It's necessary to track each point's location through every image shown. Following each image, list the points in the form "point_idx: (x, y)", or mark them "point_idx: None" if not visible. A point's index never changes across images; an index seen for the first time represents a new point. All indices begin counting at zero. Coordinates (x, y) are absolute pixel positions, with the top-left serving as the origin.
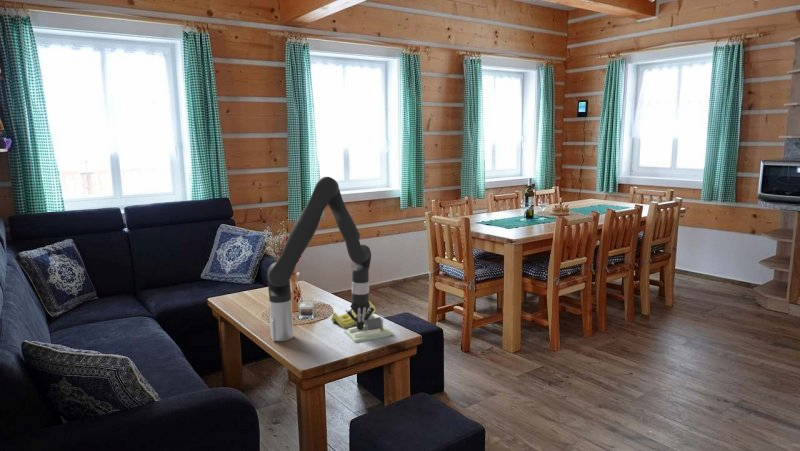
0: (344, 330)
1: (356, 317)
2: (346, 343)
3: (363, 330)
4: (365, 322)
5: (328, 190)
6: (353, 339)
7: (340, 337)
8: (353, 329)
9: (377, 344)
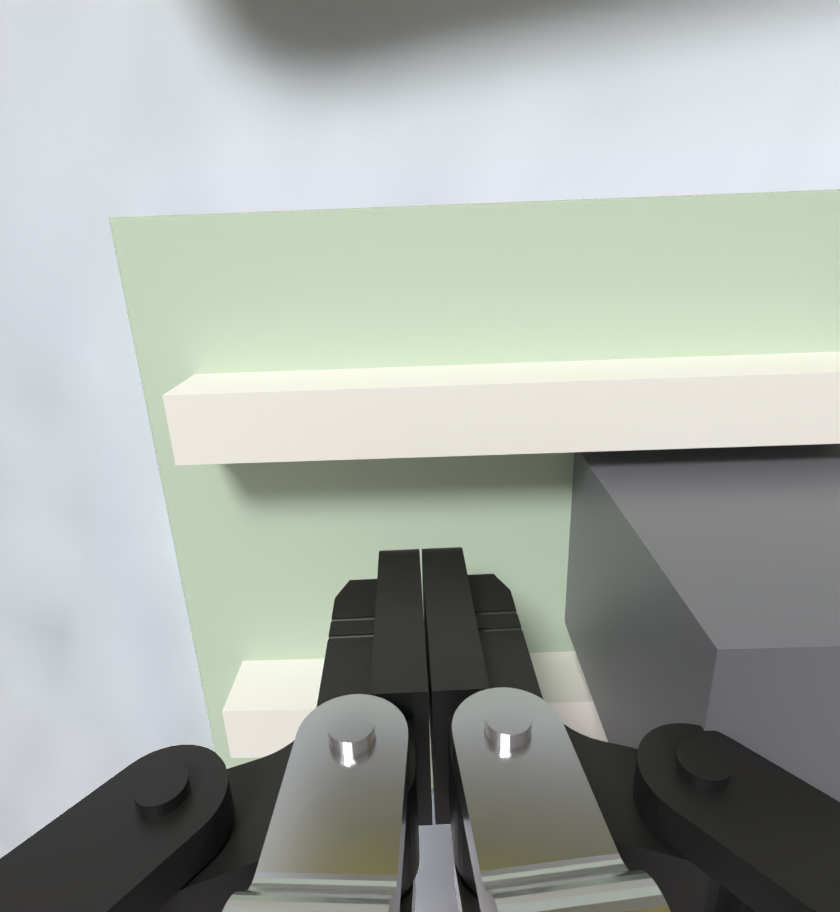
0: (116, 232)
1: (286, 862)
2: (99, 729)
3: (540, 454)
4: (636, 628)
5: None
6: (218, 731)
7: (22, 453)
8: (295, 449)
9: None
